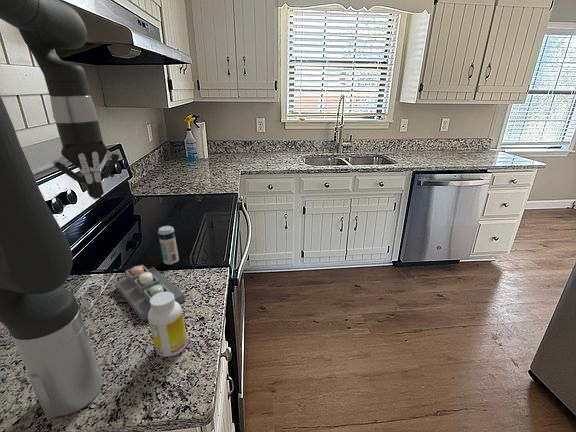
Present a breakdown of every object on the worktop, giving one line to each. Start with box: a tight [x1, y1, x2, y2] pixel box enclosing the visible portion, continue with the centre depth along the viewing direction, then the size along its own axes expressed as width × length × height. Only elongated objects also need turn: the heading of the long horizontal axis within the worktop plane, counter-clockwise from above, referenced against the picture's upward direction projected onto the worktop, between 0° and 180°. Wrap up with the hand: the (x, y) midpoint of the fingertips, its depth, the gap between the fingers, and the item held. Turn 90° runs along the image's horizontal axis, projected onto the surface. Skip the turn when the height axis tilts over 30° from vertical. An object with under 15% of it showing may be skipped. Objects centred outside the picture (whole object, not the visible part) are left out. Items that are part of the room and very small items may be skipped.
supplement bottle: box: [147, 292, 188, 358], centre depth 66 cm, size 7×7×13 cm
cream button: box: [139, 272, 153, 286], centre depth 84 cm, size 3×3×3 cm
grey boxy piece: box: [114, 264, 186, 322], centre depth 85 cm, size 11×19×4 cm, turn 44°
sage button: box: [149, 285, 164, 297], centre depth 80 cm, size 3×3×3 cm
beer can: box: [157, 225, 180, 265], centre depth 99 cm, size 5×5×12 cm
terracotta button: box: [130, 265, 144, 276], centre depth 88 cm, size 3×3×3 cm
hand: (97, 197), depth 72 cm, fingers closed
